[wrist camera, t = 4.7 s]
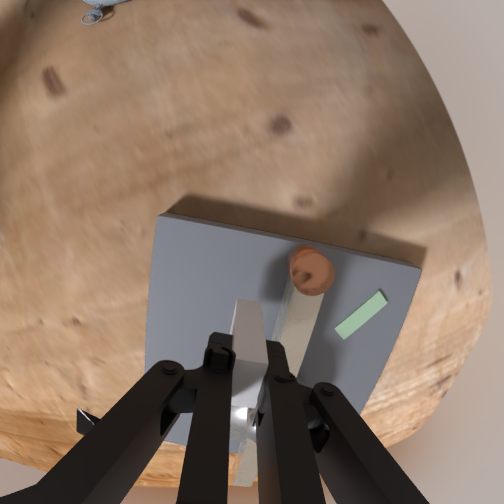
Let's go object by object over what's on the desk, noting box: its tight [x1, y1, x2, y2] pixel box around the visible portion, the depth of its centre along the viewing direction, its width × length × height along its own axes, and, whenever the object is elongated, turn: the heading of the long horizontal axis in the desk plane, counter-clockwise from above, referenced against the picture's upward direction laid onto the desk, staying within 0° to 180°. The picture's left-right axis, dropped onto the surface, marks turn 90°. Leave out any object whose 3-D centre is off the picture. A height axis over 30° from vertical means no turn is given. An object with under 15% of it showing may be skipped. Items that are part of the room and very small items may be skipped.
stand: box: [145, 212, 422, 453], centre depth 23 cm, size 20×22×2 cm
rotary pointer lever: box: [230, 245, 335, 487], centre depth 19 cm, size 7×23×5 cm, turn 168°
